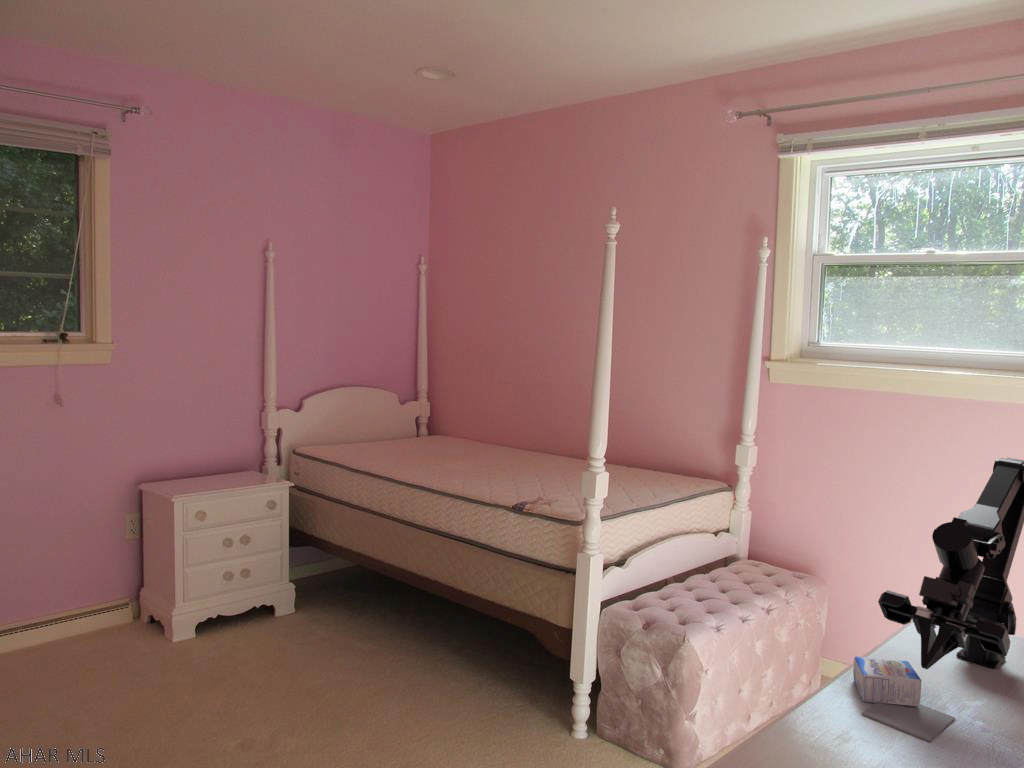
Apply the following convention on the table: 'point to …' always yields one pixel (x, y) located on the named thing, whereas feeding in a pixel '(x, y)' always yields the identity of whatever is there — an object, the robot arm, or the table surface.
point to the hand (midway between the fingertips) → (924, 667)
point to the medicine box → (887, 681)
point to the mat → (910, 719)
